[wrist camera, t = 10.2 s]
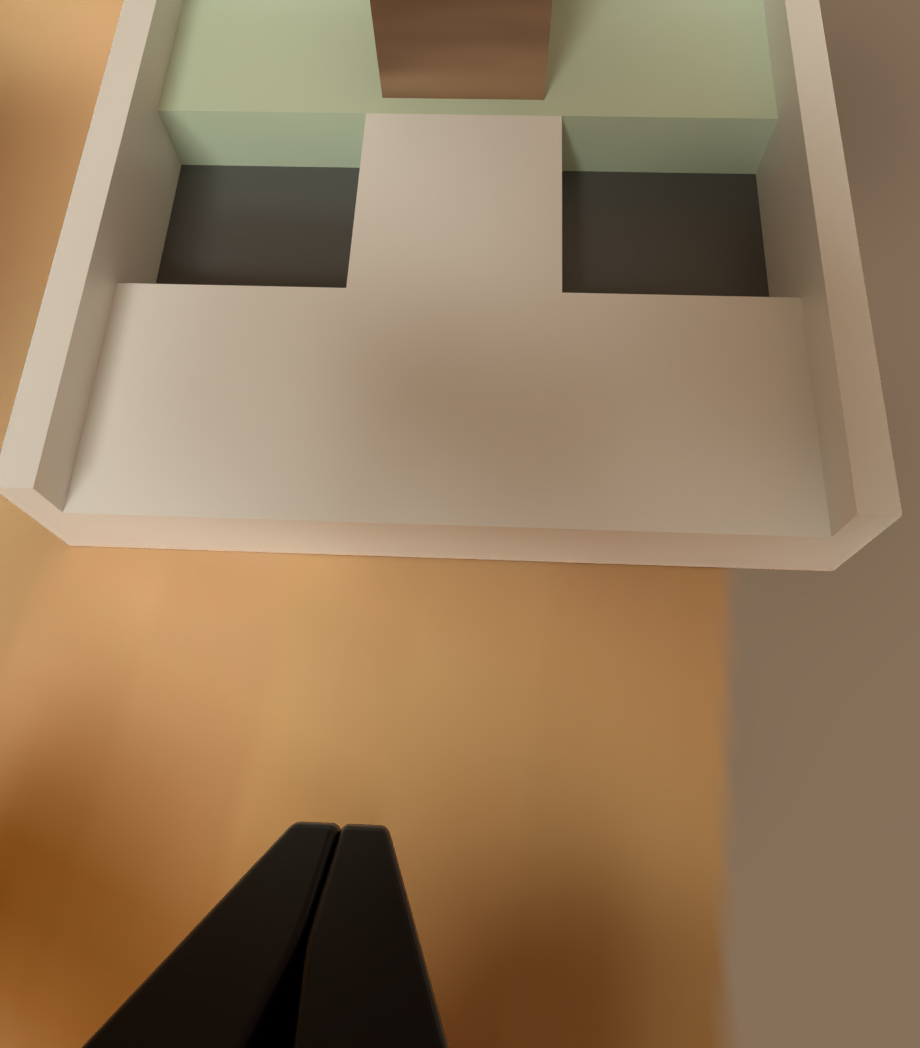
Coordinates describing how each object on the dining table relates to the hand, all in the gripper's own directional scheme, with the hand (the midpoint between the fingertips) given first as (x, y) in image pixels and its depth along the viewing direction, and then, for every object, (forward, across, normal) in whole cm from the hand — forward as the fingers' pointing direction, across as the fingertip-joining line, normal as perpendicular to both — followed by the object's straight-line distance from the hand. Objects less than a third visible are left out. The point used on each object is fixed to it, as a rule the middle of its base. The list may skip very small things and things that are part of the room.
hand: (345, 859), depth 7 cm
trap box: (+22, 0, -3) cm, 23 cm away
